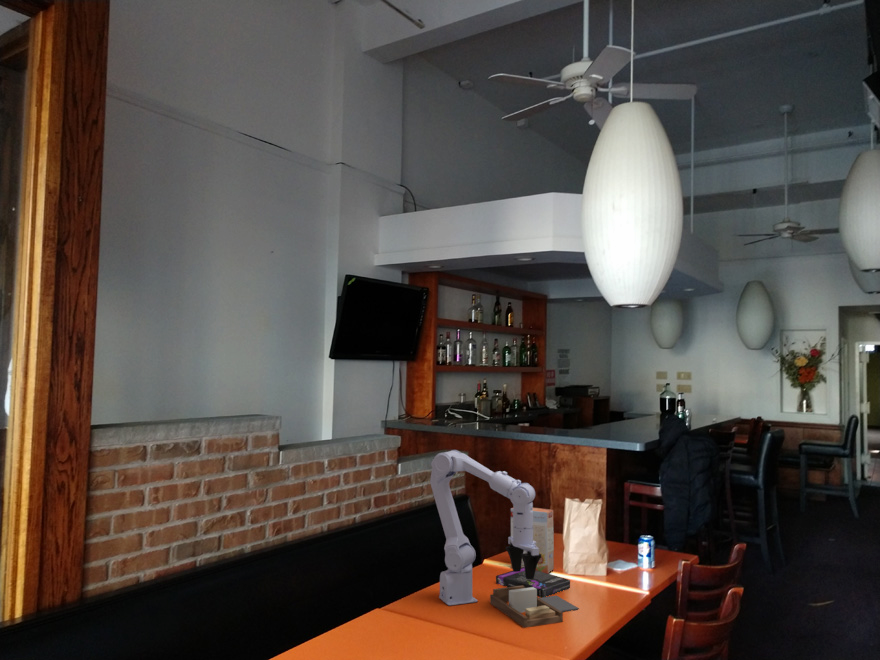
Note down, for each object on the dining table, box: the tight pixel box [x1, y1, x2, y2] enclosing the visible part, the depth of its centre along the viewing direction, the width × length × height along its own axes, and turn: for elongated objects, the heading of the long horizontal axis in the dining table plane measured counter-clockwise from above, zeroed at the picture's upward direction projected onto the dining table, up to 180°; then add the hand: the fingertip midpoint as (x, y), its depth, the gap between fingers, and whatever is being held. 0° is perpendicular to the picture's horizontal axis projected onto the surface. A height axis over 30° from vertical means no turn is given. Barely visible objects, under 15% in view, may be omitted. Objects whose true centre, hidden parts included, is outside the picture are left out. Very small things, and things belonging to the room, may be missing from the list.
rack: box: [489, 585, 564, 628], centre depth 191 cm, size 12×20×4 cm, turn 22°
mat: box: [539, 595, 580, 613], centre depth 197 cm, size 9×12×1 cm
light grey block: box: [508, 587, 538, 614], centre depth 192 cm, size 8×2×6 cm, turn 112°
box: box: [495, 567, 571, 598], centre depth 215 cm, size 14×4×20 cm
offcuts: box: [524, 605, 555, 620], centre depth 183 cm, size 9×3×4 cm, turn 112°
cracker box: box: [510, 507, 555, 574], centre depth 233 cm, size 14×6×21 cm, turn 58°
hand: (523, 575), depth 193 cm, fingers open, 7 cm apart
